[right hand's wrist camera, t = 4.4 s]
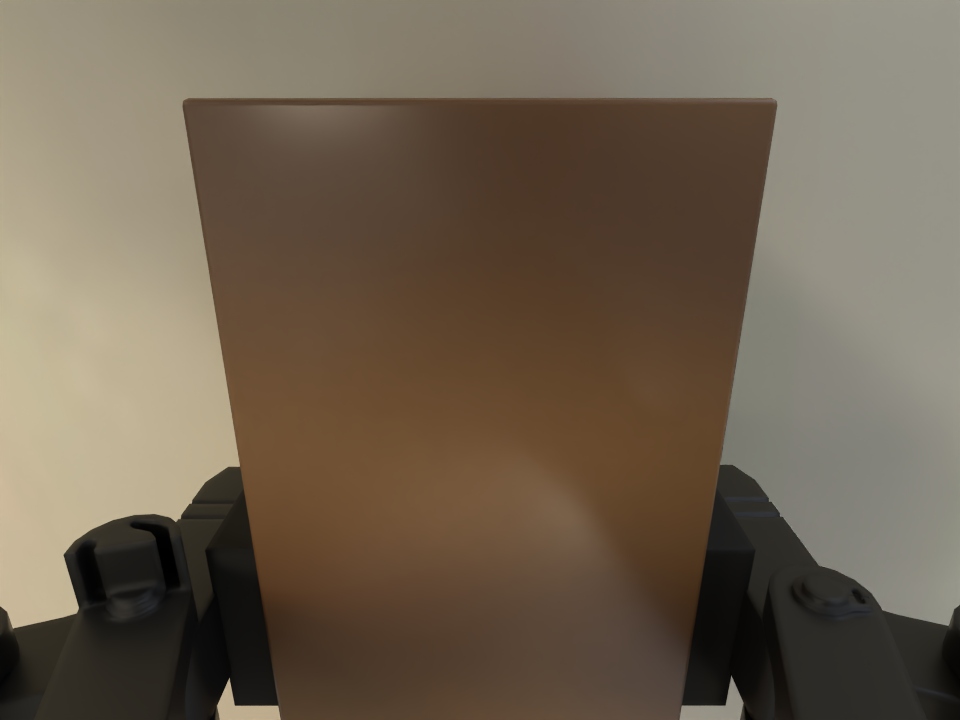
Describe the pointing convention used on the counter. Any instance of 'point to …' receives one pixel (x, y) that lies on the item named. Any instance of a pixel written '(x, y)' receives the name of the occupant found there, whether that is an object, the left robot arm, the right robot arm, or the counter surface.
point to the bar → (479, 388)
